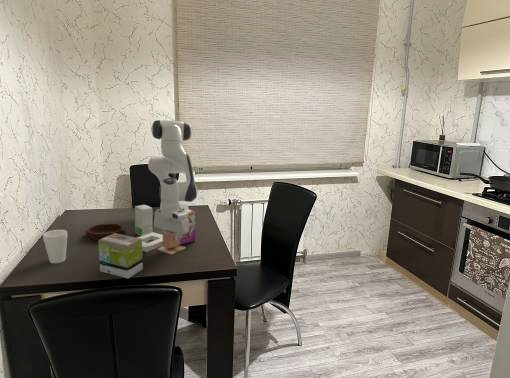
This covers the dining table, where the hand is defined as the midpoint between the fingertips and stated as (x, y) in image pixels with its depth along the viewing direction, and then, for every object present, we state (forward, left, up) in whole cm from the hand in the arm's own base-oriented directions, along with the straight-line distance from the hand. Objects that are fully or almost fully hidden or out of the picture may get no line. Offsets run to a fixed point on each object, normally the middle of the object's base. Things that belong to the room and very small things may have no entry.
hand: (171, 238), depth 179 cm
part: (0, 0, -3) cm, 3 cm away
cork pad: (0, 0, -6) cm, 6 cm away
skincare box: (-8, -28, -6) cm, 30 cm away
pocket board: (+1, -14, -6) cm, 15 cm away
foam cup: (+39, -32, -6) cm, 51 cm away
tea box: (+30, 0, -6) cm, 31 cm away
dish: (+7, -41, -6) cm, 42 cm away
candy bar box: (-11, -1, -6) cm, 12 cm away
